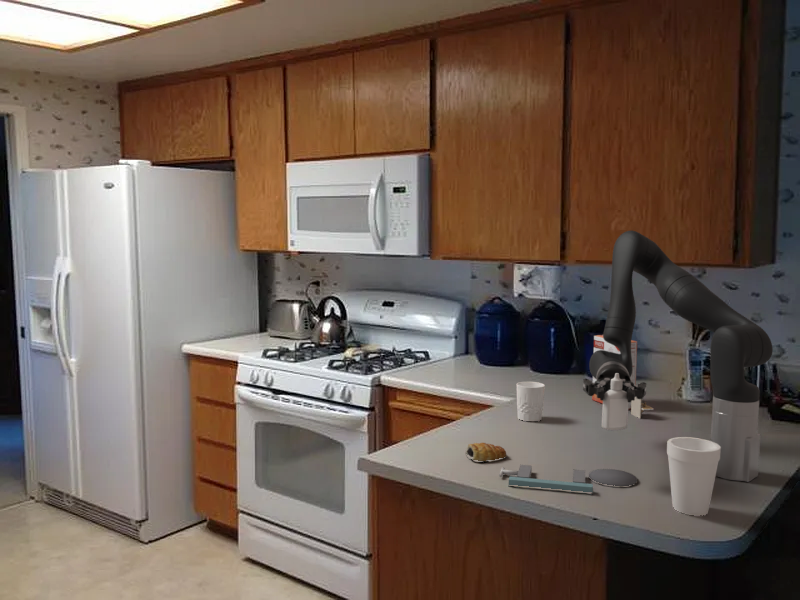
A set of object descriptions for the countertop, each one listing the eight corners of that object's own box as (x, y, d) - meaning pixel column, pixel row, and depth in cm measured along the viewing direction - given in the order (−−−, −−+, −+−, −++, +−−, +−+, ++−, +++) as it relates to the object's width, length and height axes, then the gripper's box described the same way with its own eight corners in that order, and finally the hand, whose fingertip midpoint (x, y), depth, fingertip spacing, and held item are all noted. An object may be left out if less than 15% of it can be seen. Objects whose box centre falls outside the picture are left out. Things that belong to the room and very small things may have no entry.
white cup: (511, 420, 205) (512, 385, 204) (520, 414, 211) (521, 380, 210) (539, 424, 201) (540, 388, 200) (547, 417, 208) (548, 383, 207)
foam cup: (715, 504, 143) (718, 440, 142) (719, 522, 134) (723, 453, 133) (663, 498, 146) (666, 435, 145) (664, 515, 137) (667, 448, 136)
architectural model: (641, 415, 214) (642, 390, 213) (653, 421, 207) (654, 395, 206) (630, 415, 213) (631, 390, 213) (641, 421, 206) (642, 396, 206)
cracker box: (590, 400, 229) (593, 334, 227) (606, 399, 231) (609, 334, 229) (619, 411, 216) (621, 341, 214) (635, 409, 218) (638, 340, 216)
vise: (592, 477, 158) (592, 470, 158) (592, 494, 148) (592, 487, 148) (502, 469, 163) (502, 462, 163) (496, 485, 153) (496, 478, 152)
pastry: (498, 452, 176) (499, 437, 175) (511, 461, 169) (512, 445, 169) (463, 456, 173) (463, 440, 172) (474, 465, 166) (475, 449, 166)
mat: (645, 479, 157) (645, 476, 157) (623, 491, 150) (623, 488, 150) (603, 468, 164) (603, 465, 164) (579, 479, 157) (580, 476, 157)
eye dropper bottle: (630, 431, 154) (632, 376, 152) (602, 430, 154) (605, 375, 153) (625, 425, 158) (628, 371, 157) (599, 424, 159) (601, 370, 157)
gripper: (582, 362, 170) (581, 377, 154) (646, 365, 167) (652, 381, 150) (580, 393, 171) (580, 411, 155) (644, 397, 168) (651, 416, 151)
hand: (616, 396), depth 153 cm, fingers closed on eye dropper bottle, 5 cm apart
